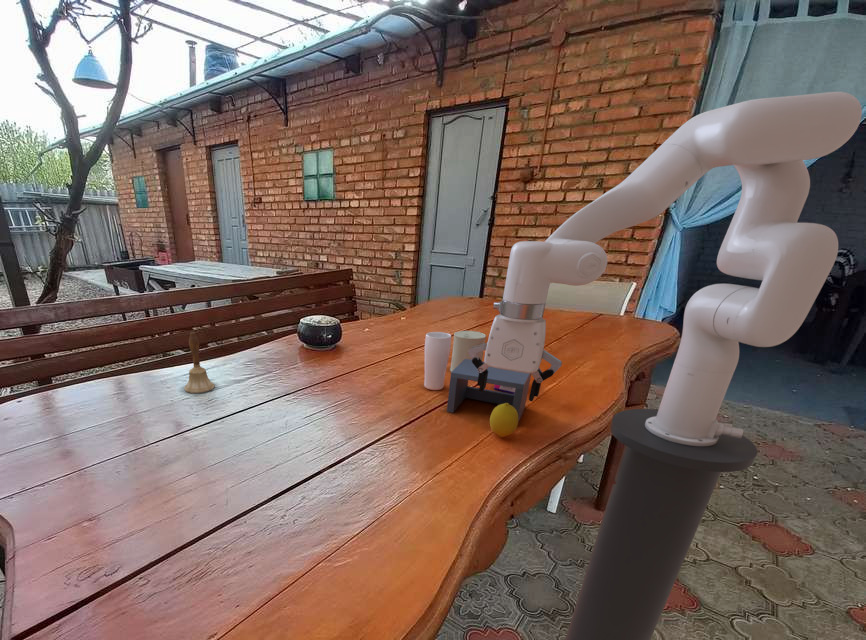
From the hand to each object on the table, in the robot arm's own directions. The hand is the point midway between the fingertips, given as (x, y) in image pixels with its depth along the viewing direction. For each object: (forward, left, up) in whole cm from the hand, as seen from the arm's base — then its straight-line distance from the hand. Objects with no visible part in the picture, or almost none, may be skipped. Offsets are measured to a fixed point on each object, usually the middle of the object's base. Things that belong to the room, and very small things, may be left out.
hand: (506, 394), depth 87 cm
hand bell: (+79, +12, -10) cm, 80 cm away
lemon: (0, 0, -10) cm, 10 cm away
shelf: (+6, -13, -10) cm, 18 cm away
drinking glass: (+22, -21, -10) cm, 32 cm away
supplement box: (+4, -30, -10) cm, 32 cm away
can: (+18, -39, -10) cm, 44 cm away
